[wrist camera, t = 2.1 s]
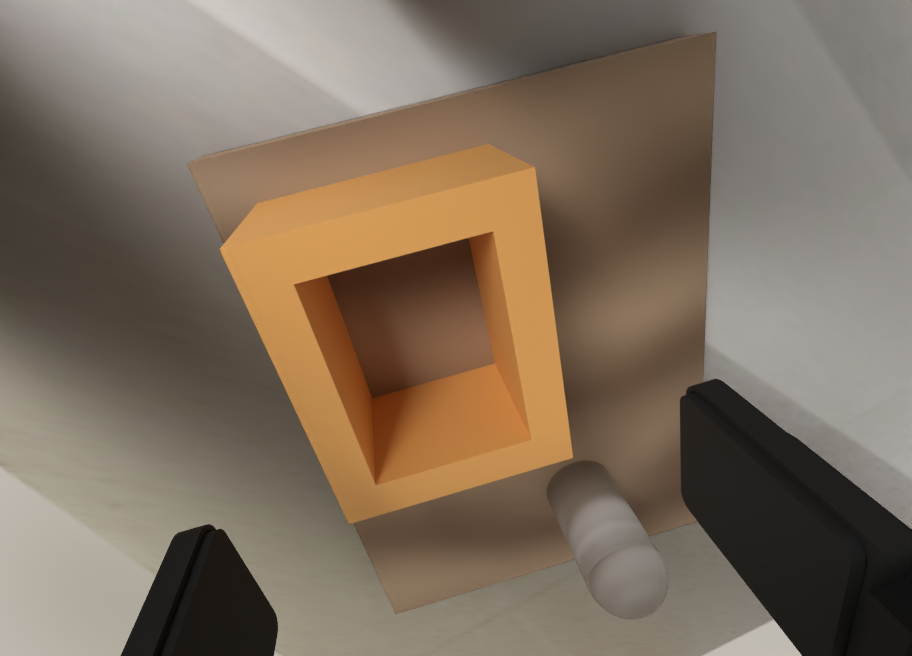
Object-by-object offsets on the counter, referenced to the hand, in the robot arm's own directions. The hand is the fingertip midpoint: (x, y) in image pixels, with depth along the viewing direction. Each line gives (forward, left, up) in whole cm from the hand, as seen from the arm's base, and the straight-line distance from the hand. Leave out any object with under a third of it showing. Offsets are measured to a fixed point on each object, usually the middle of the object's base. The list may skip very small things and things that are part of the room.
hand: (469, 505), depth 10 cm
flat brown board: (+4, +3, -10) cm, 11 cm away
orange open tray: (-1, 0, -9) cm, 9 cm away
